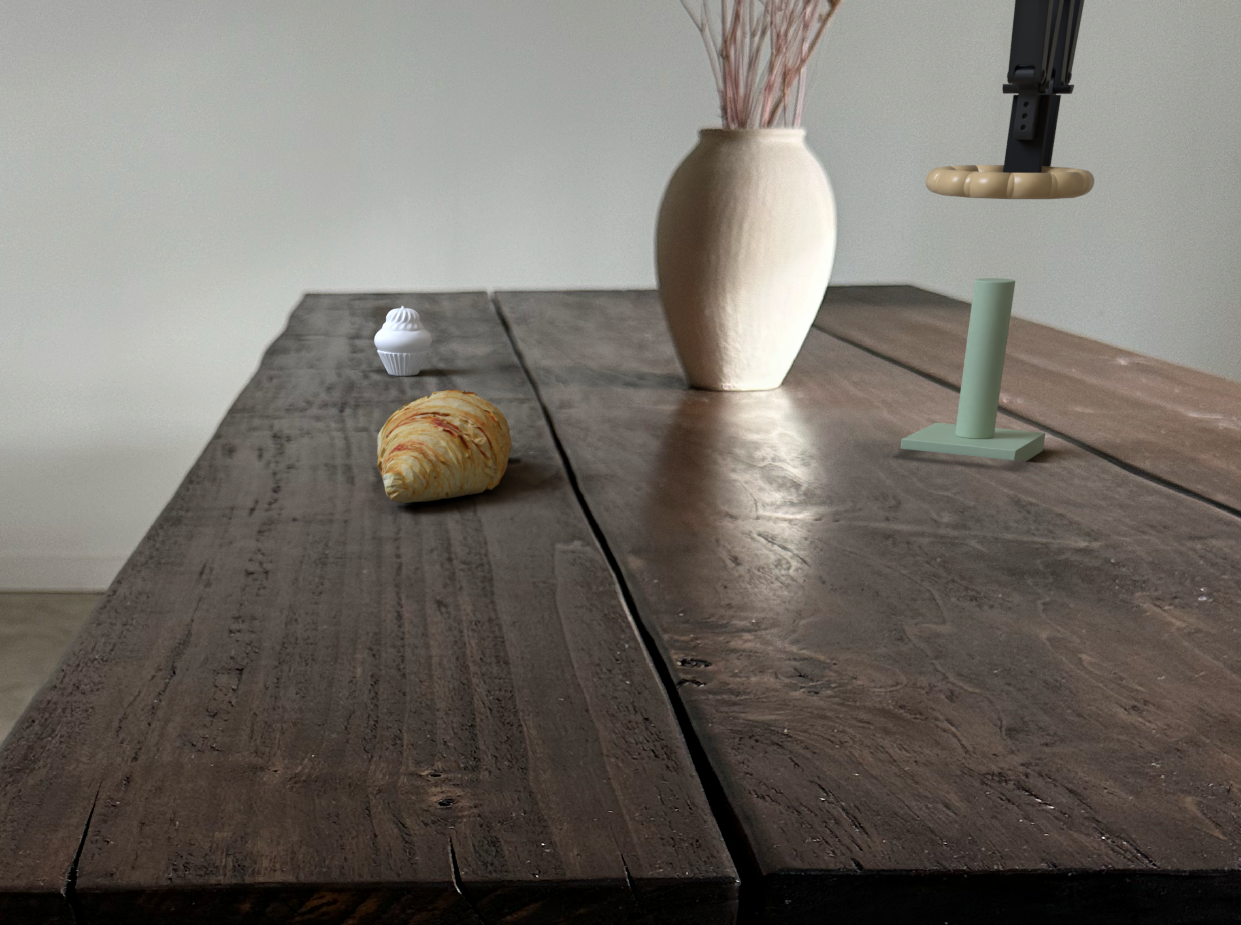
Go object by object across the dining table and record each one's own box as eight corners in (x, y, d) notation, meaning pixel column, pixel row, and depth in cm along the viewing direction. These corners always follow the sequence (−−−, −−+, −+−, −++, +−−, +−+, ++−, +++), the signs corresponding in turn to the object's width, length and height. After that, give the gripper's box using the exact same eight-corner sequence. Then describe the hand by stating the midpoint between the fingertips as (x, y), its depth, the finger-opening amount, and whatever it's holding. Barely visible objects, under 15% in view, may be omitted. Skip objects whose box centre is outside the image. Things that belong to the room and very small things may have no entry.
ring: (1104, 192, 123) (1108, 167, 122) (1070, 202, 114) (1075, 175, 113) (950, 187, 129) (953, 162, 128) (906, 196, 120) (909, 170, 119)
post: (1043, 451, 131) (1069, 278, 125) (1013, 469, 124) (1039, 287, 119) (933, 440, 135) (954, 272, 130) (899, 457, 129) (919, 281, 123)
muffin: (431, 378, 168) (431, 308, 166) (373, 378, 168) (372, 308, 166) (432, 369, 174) (432, 302, 171) (376, 369, 174) (375, 302, 171)
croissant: (435, 565, 111) (487, 466, 107) (313, 489, 112) (361, 389, 108) (515, 495, 129) (563, 409, 125) (411, 431, 130) (455, 343, 126)
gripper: (1046, -147, 123) (1001, 181, 133) (992, -174, 112) (948, 188, 121) (1149, -155, 119) (1096, 183, 129) (1105, -184, 108) (1050, 190, 117)
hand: (1024, 185), depth 125 cm, fingers closed on ring, 2 cm apart
